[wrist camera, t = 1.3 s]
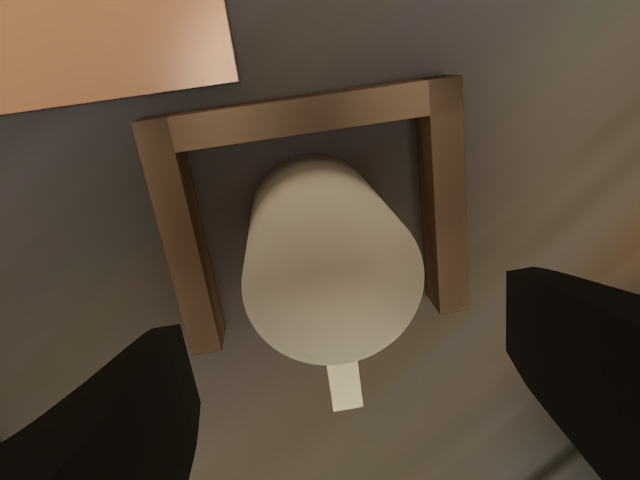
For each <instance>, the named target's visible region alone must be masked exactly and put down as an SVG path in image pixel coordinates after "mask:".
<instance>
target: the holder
mask: <svg viewBox="0 0 640 480" xmlns="http://www.w3.org/2000/svg"><path fill="white" fill-rule="evenodd" d="M410 118H416V125H417V142H418V159H419V175H420V192H421V209H422V225H423V242H424V259H425V275H426V292H427V296H428V298H429V299H430V301H431V302H432V304H433V305H434V306H435V308H436V309H437V311H438V312H439V314H446V313H452V312H458V311H465V310H469V306H468V269H467V231H466V194H465V156H464V119H463V81H462V75H441V76H434V77H427V78H420V79H413V80H406V81H399V82H392V83H385V84H378V85H371V86H364V87H357V88H350V89H343V90H336V91H329V92H322V93H315V94H308V95H301V96H294V97H287V98H279V99H272V100H265V101H258V102H251V103H244V104H237V105H230V106H223V107H216V108H209V109H202V110H195V111H188V112H181V113H174V114H167V115H160V116H153V117H146V118H142V119H139V120H136V121H133V122H131V125H132V129H133V133H134V137H135V141H136V144H137V148H138V152H139V156H140V160H141V164H142V167H143V171H144V175H145V179H146V183H147V187H148V190H149V194H150V198H151V202H152V206H153V209H154V213H155V217H156V221H157V225H158V229H159V232H160V236H161V240H162V244H163V248H164V252H165V255H166V259H167V263H168V267H169V271H170V274H171V278H172V282H173V286H174V290H175V294H176V297H177V301H178V305H179V309H180V313H181V317H182V320H183V324H184V328H185V332H186V336H187V339H188V343H189V347H190V351H191V355H192V356H193V355H199V354H205V353H211V352H217V351H222V346H223V340H224V335H225V329H226V327H225V323H224V319H223V314H222V310H221V305H220V301H219V297H218V292H217V288H216V283H215V279H214V275H213V270H212V266H211V261H210V257H209V253H208V248H207V244H206V239H205V235H204V231H203V226H202V222H201V217H200V213H199V209H198V204H197V200H196V195H195V191H194V187H193V182H192V178H191V173H190V169H189V165H188V160H187V156H186V151H191V150H198V149H205V148H211V147H218V146H225V145H232V144H239V143H246V142H252V141H259V140H266V139H273V138H280V137H287V136H294V135H300V134H307V133H314V132H321V131H328V130H335V129H342V128H348V127H355V126H362V125H369V124H376V123H383V122H390V121H396V120H403V119H410Z"/></svg>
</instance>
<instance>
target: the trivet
mask: <svg viewBox="0 0 640 480" xmlns="http://www.w3.org/2000/svg"><path fill="white" fill-rule="evenodd" d="M238 81H240V80H239V75H238V69H237V63H236V58H235V52H234V47H233V41H232V36H231V30H230V24H229V19H228V13H227V8H226V2H225V0H0V115H2V114H9V113H17V112H24V111H31V110H38V109H45V108H52V107H60V106H67V105H74V104H81V103H88V102H95V101H102V100H110V99H117V98H124V97H131V96H138V95H145V94H152V93H160V92H167V91H174V90H181V89H188V88H195V87H203V86H210V85H217V84H224V83H231V82H238Z"/></svg>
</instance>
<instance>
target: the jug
mask: <svg viewBox="0 0 640 480" xmlns="http://www.w3.org/2000/svg"><path fill="white" fill-rule="evenodd" d="M423 288H424V265H423V260H422V256H421V253H420V250H419V247H418V245H417V243H416V241H415V239H414V238H413V236H412V234H411V233H410V231H409V230H408V229H407V228H406V227H405V225H404V224H403V223H402V222H401V221H400V220H399V219H398V217H397V216H396V215H395V214H394V213H393V212H392V210H391V209H390V208H389V207H388V206H387V205H386V204H385V202H384V201H383V200H382V199H381V198H380V197H379V196H378V194H377V193H376V192H375V191H374V190H373V189H372V188H371V186H370V185H369V184H368V183H367V182H366V181H365V180H364V178H363V177H362V176H361V175H360V174H359V173H358V171H357V170H355V169H354V168H353V167H352V166H351V165H349V164H348V163H346V162H345V161H343V160H341V159H339V158H336V157H333V156H330V155H325V154H316V153H311V154H303V155H298V156H295V157H292V158H289V159H287V160H285V161H283V162H281V163H280V164H278V165H277V166H276V167H274V168H273V169H272V170H271V171H270V172H269V173H268V174H267V175H266V176H265V177H264V179H263V180H262V182H261V183H260V185H259V187H258V189H257V191H256V193H255V197H254V200H253V206H252V212H251V219H250V226H249V233H248V239H247V246H246V253H245V260H244V266H243V273H242V289H241V290H242V298H243V303H244V307H245V310H246V313H247V315H248V318H249V320H250V322H251V323H252V325H253V327H254V328H255V330H256V331H257V332H258V334H259V335H260V336H261V337H262V338H263V339H264V340H265V341H266V342H267V343H268V344H269V345H270V346H271V347H273V348H274V349H276V350H277V351H279V352H280V353H282V354H284V355H286V356H288V357H290V358H292V359H295V360H298V361H300V362H305V363H309V364H315V365H325V368H326V373H327V379H328V384H329V390H330V395H331V401H332V406H333V412H336V411H341V410H347V409H353V408H359V407H363V401H362V393H361V385H360V376H359V368H358V361H359V360H362V359H365V358H367V357H369V356H372V355H374V354H376V353H378V352H379V351H381V350H382V349H384V348H386V347H387V346H388V345H389V344H391V343H392V342H393V341H395V340H396V339H397V338H398V337H399V336H400V335H401V334H402V333H403V331H404V330H405V329H406V328H407V326H408V325H409V324H410V322H411V320H412V319H413V317H414V315H415V314H416V311H417V309H418V307H419V304H420V301H421V298H422V294H423Z"/></svg>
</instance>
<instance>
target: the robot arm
mask: <svg viewBox="0 0 640 480" xmlns="http://www.w3.org/2000/svg"><path fill="white" fill-rule="evenodd" d="M506 351H507V353H508V355H509V357H510V358H511V360H512V362H513V364H514V365H515V367H516V369H517V371H518V372H519V374H520V375H521V377H522V379H523V380H524V382H525V384H526V385H527V387H528V388H529V390H530V391H531V392H532V393H533V395H534V396H535V397H536V399H537V400H538V401H539V402H540V404H541V405H542V406H543V407H544V409H545V410H546V411H547V412H548V414H549V415H550V416H551V417H552V419H553V420H554V421H555V422H556V424H557V425H558V426H559V427H560V429H561V430H562V431H563V432H564V433H565V435H566V436H567V437H568V438H569V440H570V441H571V442H572V443H573V445H574V446H575V447H576V448H577V449H578V451H579V452H580V453H581V454H582V456H583V457H584V458H585V459H586V461H587V462H588V463H589V464H590V466H591V467H592V468H593V469H594V470H595V472H596V473H597V474H598V476H599V477H600V478H601V480H640V295H639V294H635V293H632V292H628V291H624V290H621V289H617V288H614V287H610V286H607V285H603V284H600V283H597V282H593V281H590V280H586V279H583V278H579V277H576V276H572V275H569V274H565V273H561V272H557V271H553V270H549V269H544V268H538V267H529V268H523V269H517V270H511V271H506ZM200 404H201V402H200V398H199V395H198V391H197V387H196V383H195V379H194V376H193V372H192V368H191V364H190V361H189V357H188V353H187V349H186V345H185V342H184V338H183V334H182V330H181V327H180V324H177V325H171V326H165V327H159V328H153V329H150V330H149V331H147V332H146V333H144V334H143V335H141V336H140V337H139V338H138V339H136V340H135V341H134V342H133V343H131V344H130V345H129V346H128V347H127V348H125V349H124V350H123V351H122V352H121V353H119V354H118V355H117V356H116V357H115V358H113V359H112V360H111V361H110V362H109V363H107V364H106V365H105V366H104V367H103V368H101V369H100V370H99V371H98V372H97V373H95V374H94V375H93V376H92V377H91V378H89V379H88V380H87V381H86V382H84V383H83V384H82V385H81V386H79V387H78V388H77V389H75V390H74V391H73V392H71V393H70V394H69V395H68V396H66V397H65V398H64V399H62V400H61V401H60V402H58V403H57V404H56V405H55V406H53V407H52V408H51V409H49V410H48V411H47V412H45V413H44V414H43V415H41V416H40V417H39V418H37V419H36V420H35V421H33V422H32V423H30V424H29V425H27V426H26V427H25V428H23V429H22V430H20V431H19V432H17V433H16V434H14V435H13V436H11V437H10V438H8V439H7V440H5V441H4V442H2V443H1V444H0V480H189V476H190V472H191V468H192V463H193V459H194V454H195V450H196V445H197V436H198V427H199V416H200Z"/></svg>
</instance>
